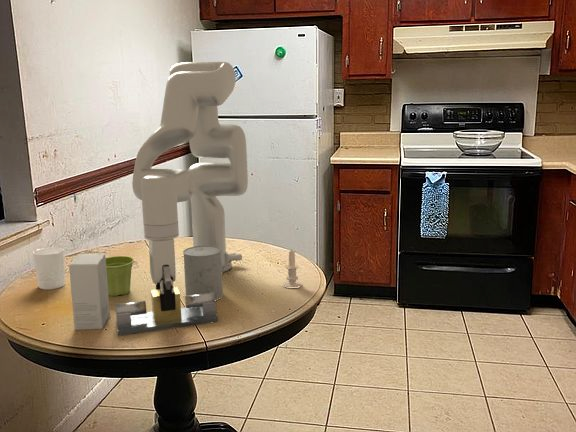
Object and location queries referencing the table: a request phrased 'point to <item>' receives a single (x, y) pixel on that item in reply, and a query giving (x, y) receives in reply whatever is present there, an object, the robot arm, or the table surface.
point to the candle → (292, 271)
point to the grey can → (203, 270)
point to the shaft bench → (195, 313)
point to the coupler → (165, 315)
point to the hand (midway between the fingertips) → (165, 302)
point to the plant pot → (118, 274)
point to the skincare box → (89, 291)
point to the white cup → (49, 267)
